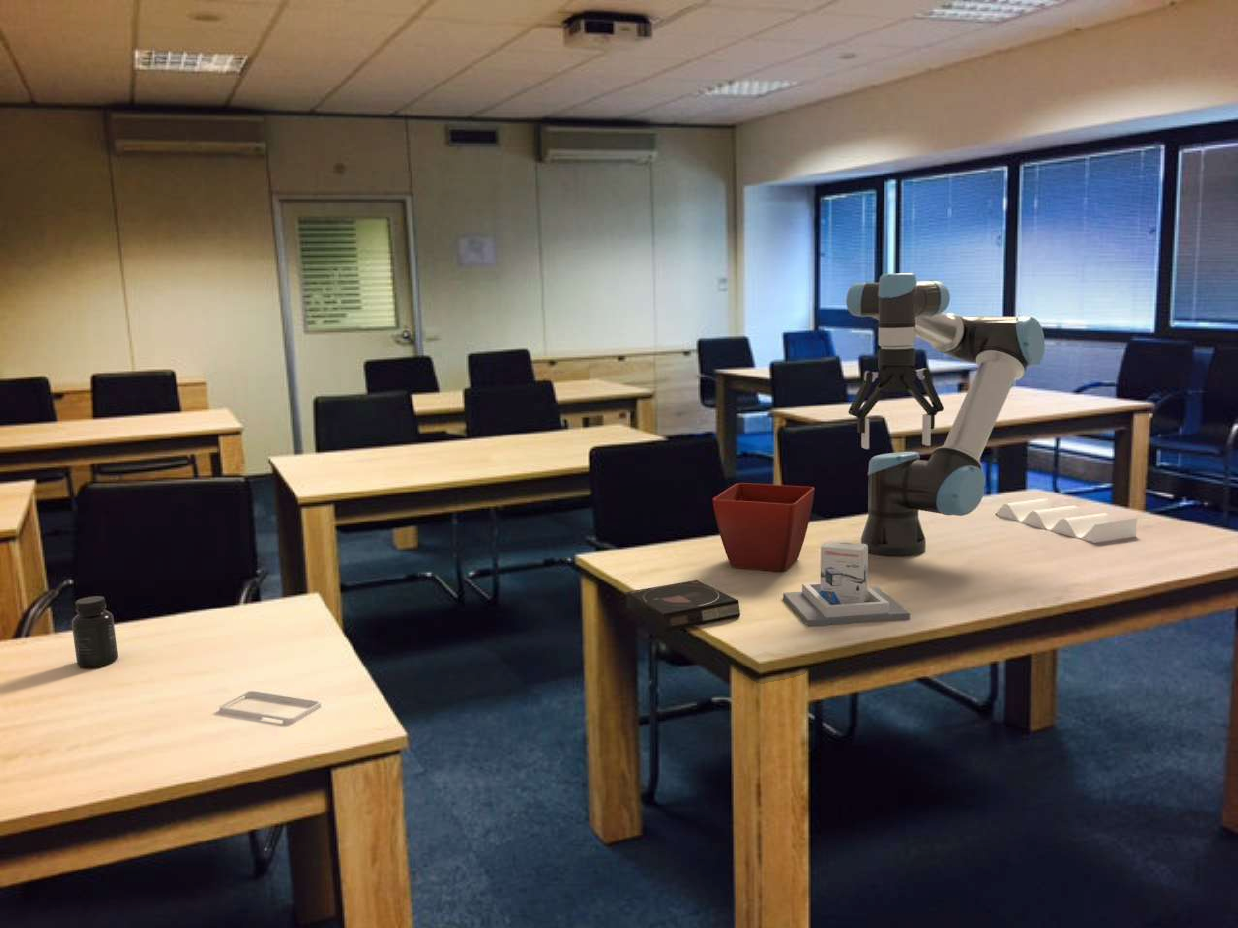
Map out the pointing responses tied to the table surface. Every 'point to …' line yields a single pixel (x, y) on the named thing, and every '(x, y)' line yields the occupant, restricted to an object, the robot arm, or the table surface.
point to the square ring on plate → (843, 607)
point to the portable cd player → (682, 605)
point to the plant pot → (763, 524)
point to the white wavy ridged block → (1068, 521)
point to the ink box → (844, 572)
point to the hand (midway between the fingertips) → (895, 446)
